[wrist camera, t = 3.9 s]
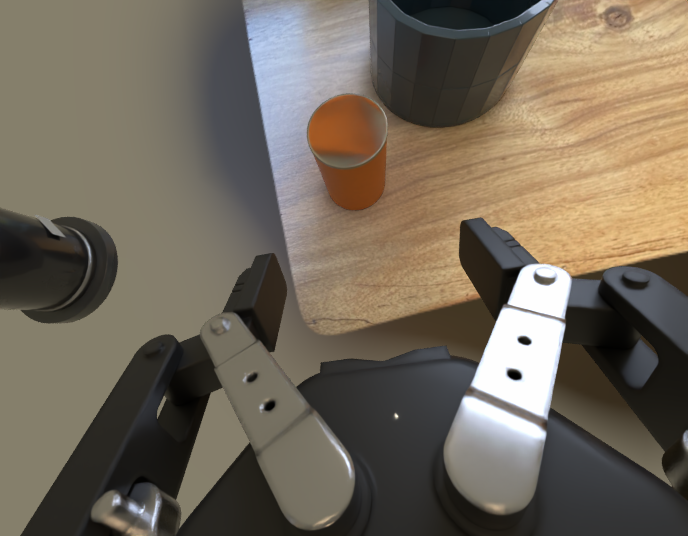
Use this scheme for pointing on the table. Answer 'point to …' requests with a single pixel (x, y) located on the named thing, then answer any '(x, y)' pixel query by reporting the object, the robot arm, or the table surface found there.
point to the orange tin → (350, 148)
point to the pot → (450, 54)
